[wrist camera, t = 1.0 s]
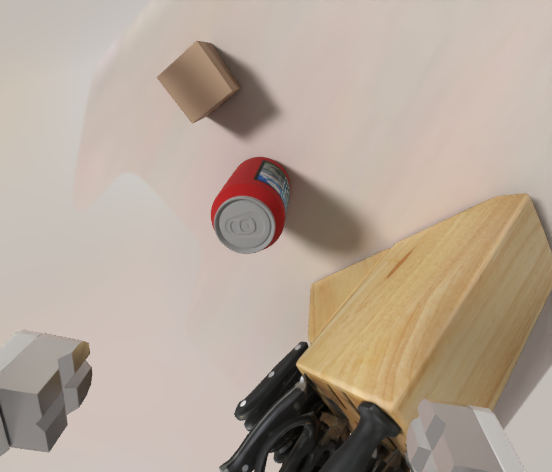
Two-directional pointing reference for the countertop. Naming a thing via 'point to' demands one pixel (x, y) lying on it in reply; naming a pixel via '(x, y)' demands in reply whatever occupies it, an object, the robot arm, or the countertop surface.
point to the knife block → (402, 343)
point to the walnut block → (199, 81)
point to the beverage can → (252, 206)
